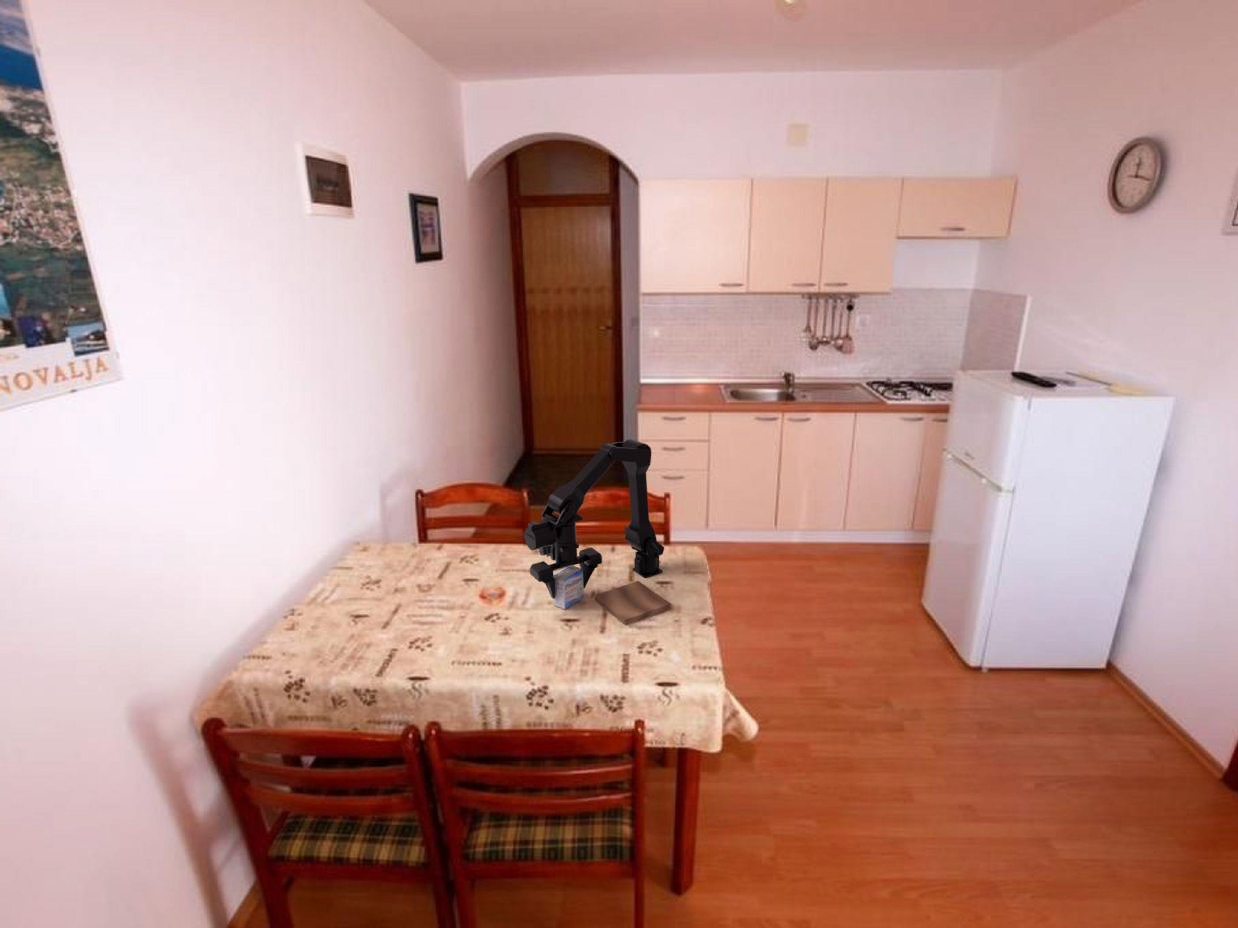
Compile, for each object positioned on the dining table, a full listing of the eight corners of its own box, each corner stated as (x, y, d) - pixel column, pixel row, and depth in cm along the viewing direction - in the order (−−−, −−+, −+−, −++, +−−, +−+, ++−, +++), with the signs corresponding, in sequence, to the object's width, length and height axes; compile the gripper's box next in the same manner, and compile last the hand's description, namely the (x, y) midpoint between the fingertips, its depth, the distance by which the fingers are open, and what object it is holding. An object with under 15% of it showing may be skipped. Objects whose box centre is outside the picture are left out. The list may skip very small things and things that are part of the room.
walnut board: (638, 585, 182) (638, 580, 181) (670, 608, 170) (670, 603, 169) (594, 600, 175) (594, 595, 174) (625, 625, 163) (625, 619, 162)
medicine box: (564, 610, 170) (563, 580, 168) (552, 605, 173) (550, 575, 170) (584, 597, 176) (583, 568, 174) (572, 592, 179) (570, 564, 176)
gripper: (581, 520, 180) (583, 571, 185) (518, 537, 171) (523, 590, 176) (602, 534, 171) (604, 587, 176) (537, 552, 162) (541, 608, 167)
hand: (568, 592), depth 174 cm, fingers closed on medicine box, 9 cm apart
